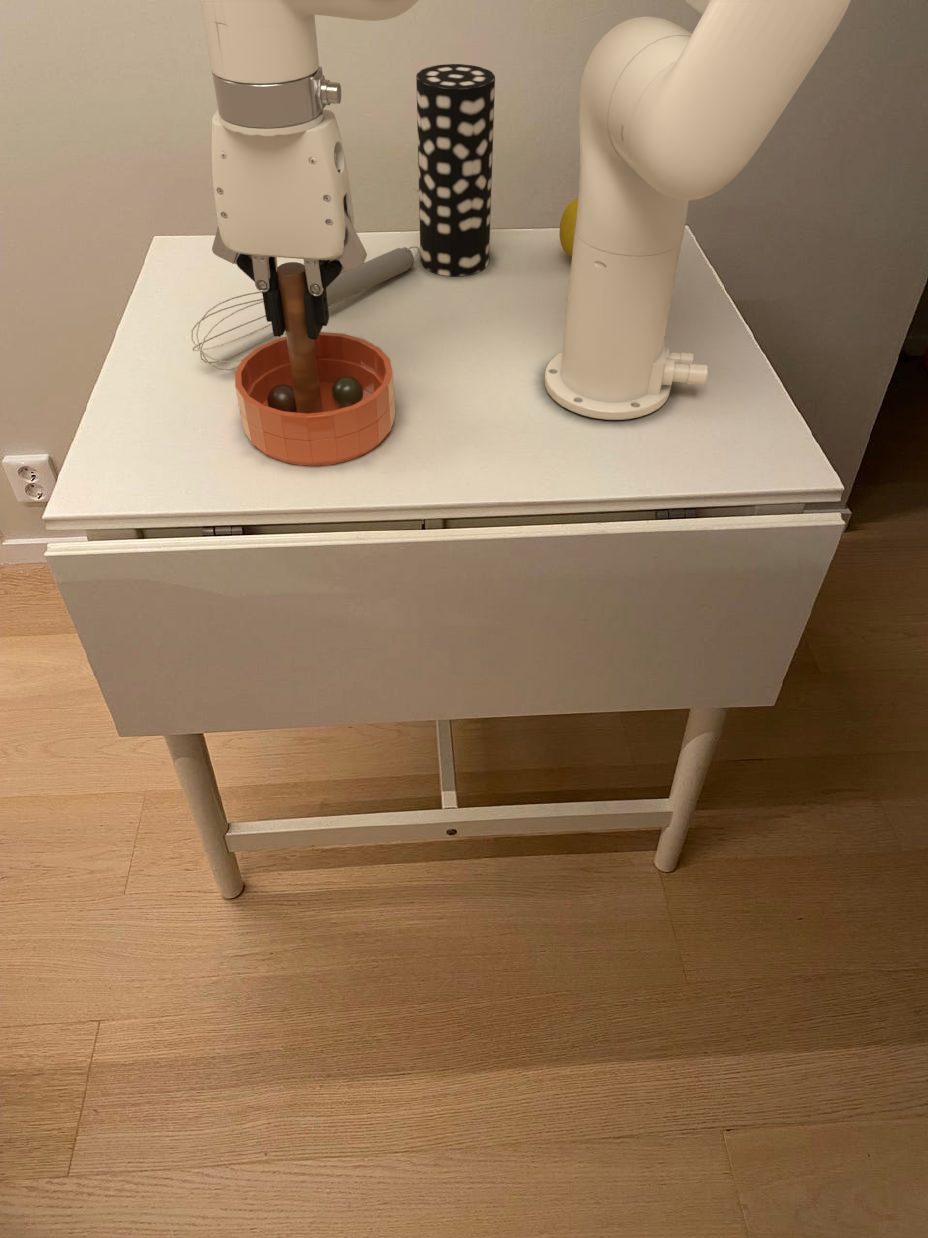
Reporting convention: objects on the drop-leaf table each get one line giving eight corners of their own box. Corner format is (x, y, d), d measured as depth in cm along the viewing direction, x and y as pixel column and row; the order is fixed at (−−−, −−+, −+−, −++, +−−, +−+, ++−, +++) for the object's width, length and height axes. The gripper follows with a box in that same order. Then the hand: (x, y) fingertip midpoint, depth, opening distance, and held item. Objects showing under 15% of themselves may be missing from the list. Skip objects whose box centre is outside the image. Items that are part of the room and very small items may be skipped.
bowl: (406, 388, 92) (404, 338, 88) (378, 474, 82) (374, 423, 78) (268, 376, 93) (260, 326, 89) (224, 460, 84) (213, 408, 80)
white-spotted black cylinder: (497, 250, 113) (504, 68, 99) (477, 280, 108) (481, 92, 93) (433, 240, 115) (431, 60, 100) (410, 270, 110) (404, 83, 95)
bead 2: (367, 398, 90) (365, 371, 88) (360, 415, 88) (358, 388, 85) (337, 395, 90) (334, 368, 88) (330, 413, 88) (327, 385, 86)
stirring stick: (325, 406, 86) (309, 262, 76) (319, 421, 85) (302, 276, 75) (300, 404, 87) (281, 260, 77) (294, 419, 85) (273, 273, 75)
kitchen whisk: (438, 268, 110) (437, 215, 105) (226, 393, 91) (213, 335, 87) (399, 254, 112) (396, 201, 108) (185, 372, 94) (171, 315, 89)
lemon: (550, 253, 113) (556, 186, 107) (593, 249, 114) (601, 182, 108) (564, 274, 109) (571, 206, 103) (608, 270, 110) (617, 202, 104)
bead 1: (304, 406, 89) (301, 379, 86) (296, 424, 87) (292, 397, 84) (274, 404, 89) (270, 376, 87) (265, 421, 87) (261, 394, 85)
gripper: (388, 86, 68) (398, 315, 82) (179, 74, 70) (222, 302, 83) (368, 121, 63) (382, 360, 77) (143, 107, 64) (195, 345, 78)
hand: (299, 328), depth 80 cm, fingers closed on stirring stick, 2 cm apart
